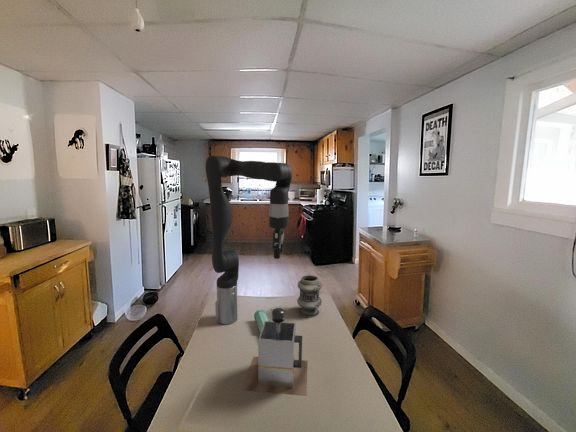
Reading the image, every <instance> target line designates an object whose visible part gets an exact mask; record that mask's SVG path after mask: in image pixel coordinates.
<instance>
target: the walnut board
mask: <svg viewBox="0 0 576 432" xmlns="http://www.w3.org/2000/svg"><path fill="white" fill-rule="evenodd" d="M308 362H309V361H308V360H304V359H302V366H301V368H294V378H293V388H285V387H273V386H262V385H258V356H254V355H253V357H252V360H251V362H250V366H249V369H248V372H247V376H246V378H245V382H244V384H243V388H242V391H247V392H260V393H268V394H269V393H272V394H282V395H283V394H284V395H292V396H305V397H306V396H307V395H308V393H307V392H308Z"/></svg>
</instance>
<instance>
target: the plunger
mask: <svg viewBox="0 0 576 432" xmlns="http://www.w3.org/2000/svg"><path fill="white" fill-rule="evenodd" d="M271 311H272V312H271V313H272V314H271V316H272V318H271V321H273V322H276V340H280V323H281V322H285V316H286V315H285V313H286V312H285V311H286V310H285V309H284V308H282V307H275V308H273V309H272V310H271Z"/></svg>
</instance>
